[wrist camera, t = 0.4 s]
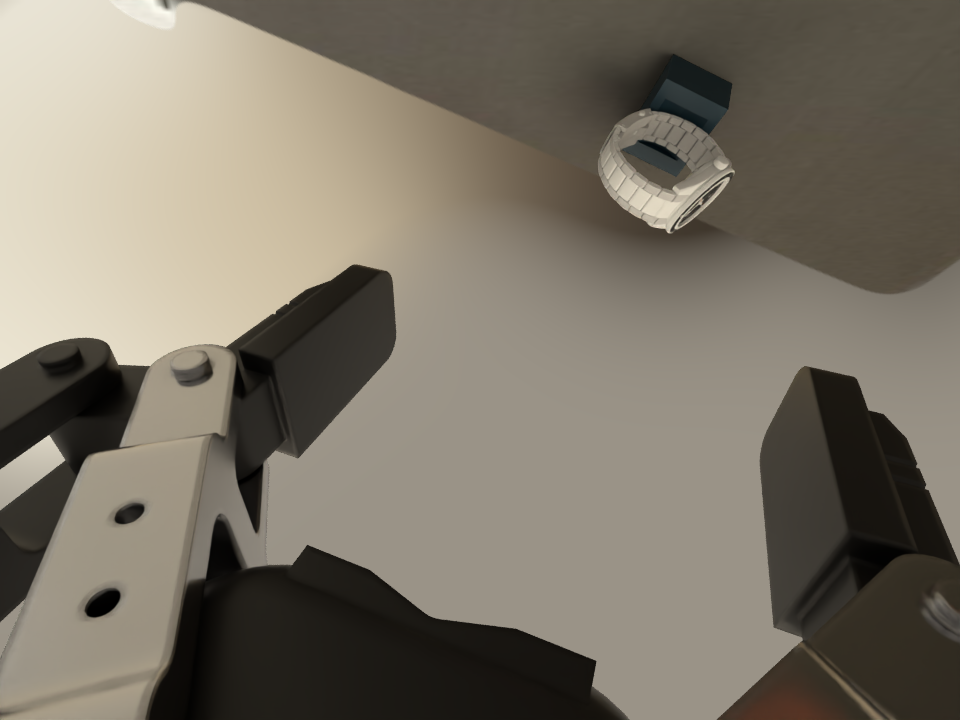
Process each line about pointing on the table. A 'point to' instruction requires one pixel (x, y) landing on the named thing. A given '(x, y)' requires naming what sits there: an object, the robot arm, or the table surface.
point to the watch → (670, 147)
